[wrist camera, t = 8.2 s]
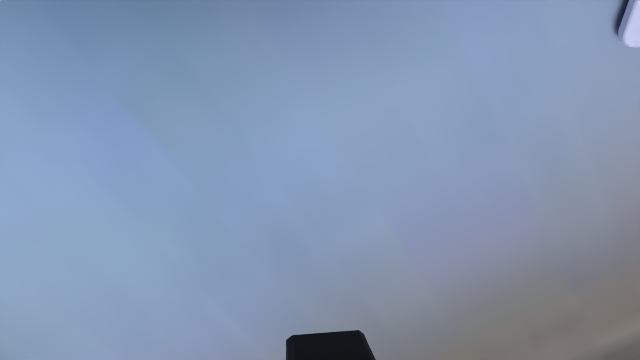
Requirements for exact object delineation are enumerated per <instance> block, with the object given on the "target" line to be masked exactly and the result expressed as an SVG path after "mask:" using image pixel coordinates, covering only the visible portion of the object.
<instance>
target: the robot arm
mask: <svg viewBox="0 0 640 360" xmlns="http://www.w3.org/2000/svg"><path fill="white" fill-rule="evenodd" d="M618 37H619V40H620V41H622V42H623V43H624V44H625V45H627V46H629V47H640V0H629V2H628V5H627V8H626V11H625V13H624V16H623V19H622V22H621V25H620V27H619V31H618ZM286 360H376V359H375V357H374V355H373V353H372V351H371V349H370V347H369V345H368V343H367V340H366V338H365V336H364V334H363V333H362V332H360V331H359V330H355V331H342V332H329V333H315V334H302V335H292V336H291V337H290V338H288V339H287V340H286Z"/></svg>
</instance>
